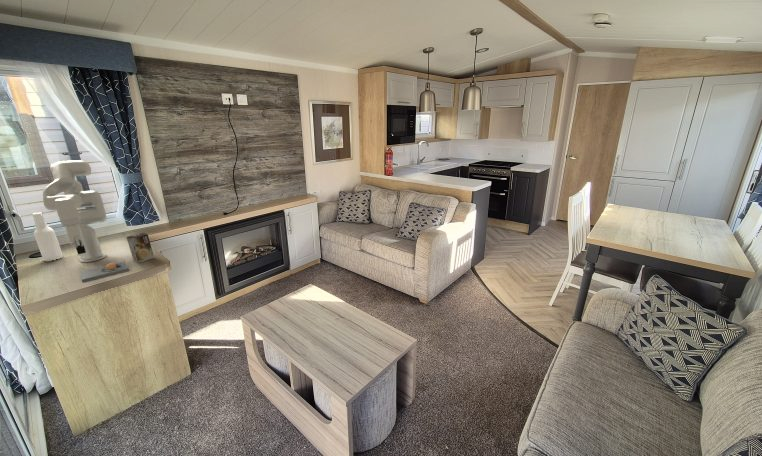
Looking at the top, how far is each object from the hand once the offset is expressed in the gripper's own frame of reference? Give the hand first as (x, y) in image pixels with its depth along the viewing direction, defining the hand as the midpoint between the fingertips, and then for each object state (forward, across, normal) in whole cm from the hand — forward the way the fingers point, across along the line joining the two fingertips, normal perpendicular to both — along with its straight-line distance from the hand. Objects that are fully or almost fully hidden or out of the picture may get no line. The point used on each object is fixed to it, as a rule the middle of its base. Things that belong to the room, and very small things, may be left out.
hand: (82, 253), depth 171 cm
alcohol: (+16, -47, -15) cm, 52 cm away
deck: (+13, +2, +7) cm, 15 cm away
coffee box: (+14, -4, +26) cm, 29 cm away
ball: (+11, +2, +10) cm, 15 cm away
